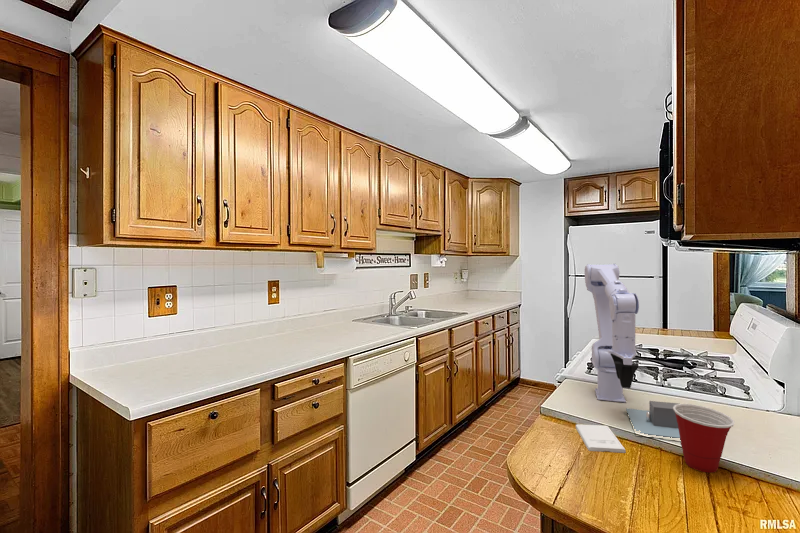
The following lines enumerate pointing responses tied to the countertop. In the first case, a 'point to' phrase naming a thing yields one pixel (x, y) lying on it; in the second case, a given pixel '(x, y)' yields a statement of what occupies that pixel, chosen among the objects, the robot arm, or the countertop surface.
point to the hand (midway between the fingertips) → (623, 383)
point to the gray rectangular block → (663, 414)
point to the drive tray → (649, 424)
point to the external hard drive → (599, 438)
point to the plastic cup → (702, 435)
